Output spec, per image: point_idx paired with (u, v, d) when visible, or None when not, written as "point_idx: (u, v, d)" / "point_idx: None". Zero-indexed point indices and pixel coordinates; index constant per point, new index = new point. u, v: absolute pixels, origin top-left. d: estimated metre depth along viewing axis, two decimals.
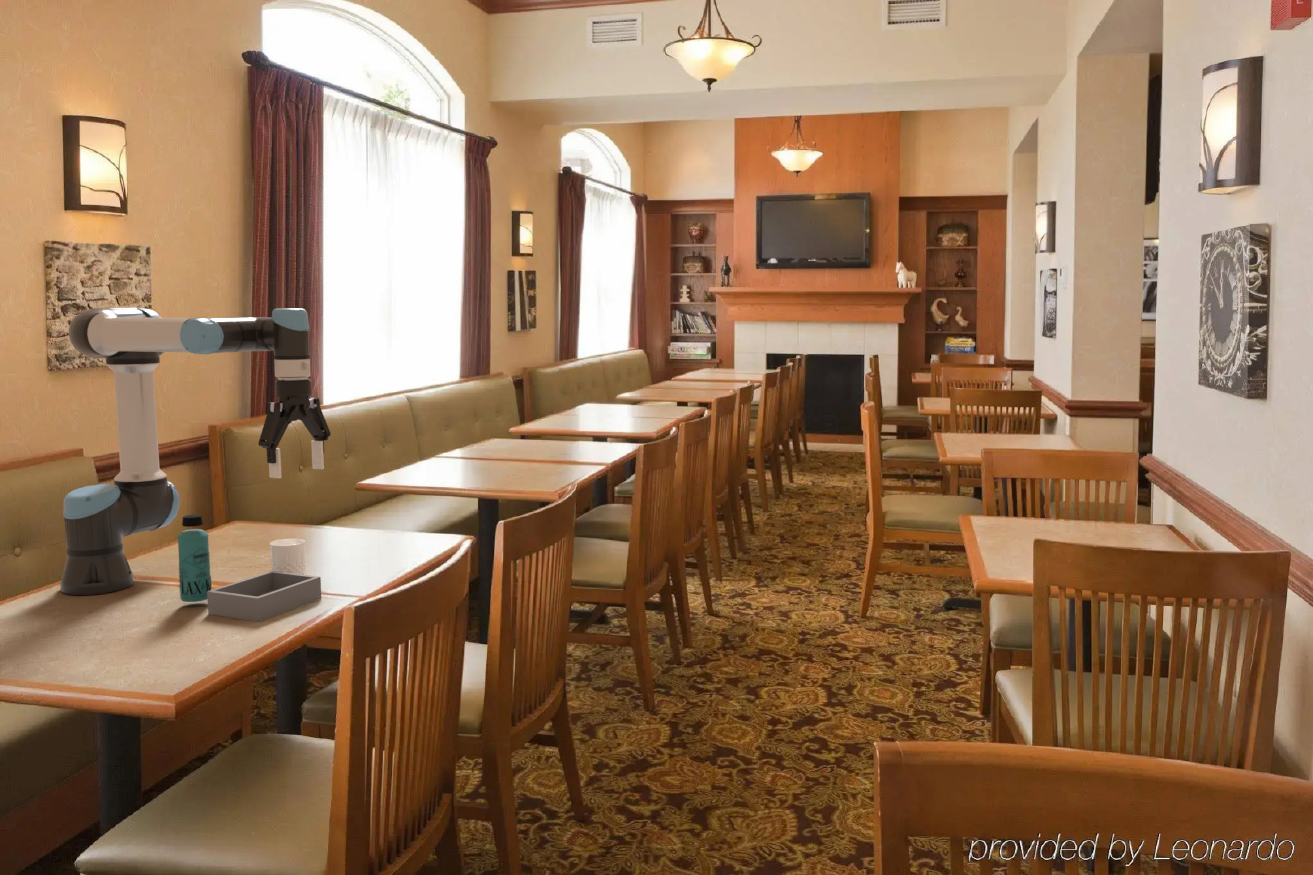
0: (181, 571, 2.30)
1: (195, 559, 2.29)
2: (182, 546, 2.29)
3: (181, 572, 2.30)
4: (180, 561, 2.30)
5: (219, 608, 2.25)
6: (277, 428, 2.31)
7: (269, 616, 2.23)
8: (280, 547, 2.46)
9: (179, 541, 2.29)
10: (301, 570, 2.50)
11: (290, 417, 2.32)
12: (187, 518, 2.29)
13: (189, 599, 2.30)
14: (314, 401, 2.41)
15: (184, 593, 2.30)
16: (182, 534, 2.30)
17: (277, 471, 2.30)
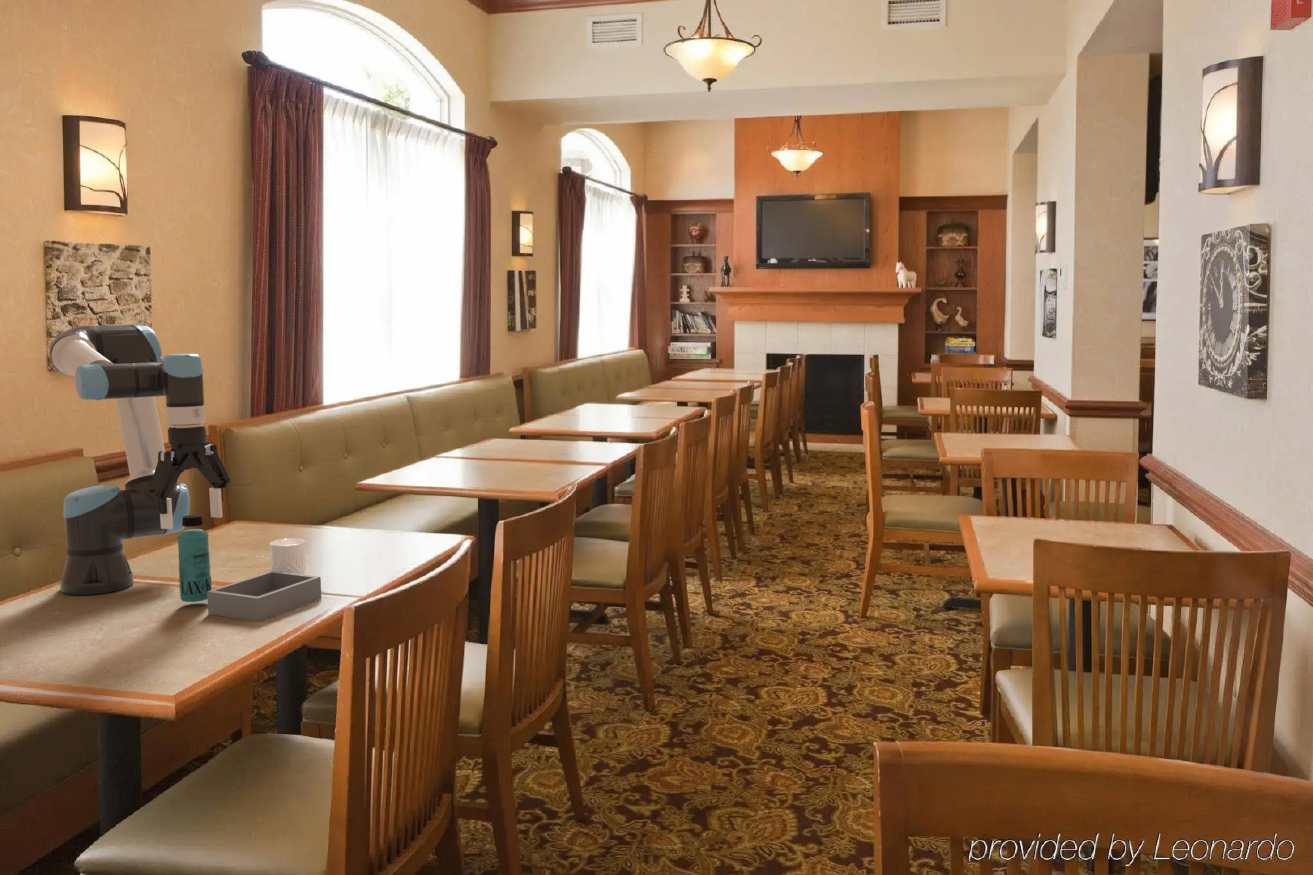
0: (181, 571, 2.30)
1: (195, 559, 2.29)
2: (182, 546, 2.29)
3: (181, 572, 2.30)
4: (180, 561, 2.30)
5: (219, 608, 2.25)
6: (168, 477, 2.25)
7: (269, 616, 2.23)
8: (280, 547, 2.46)
9: (179, 541, 2.29)
10: (301, 570, 2.50)
11: (182, 466, 2.26)
12: (187, 518, 2.29)
13: (189, 599, 2.30)
14: (211, 448, 2.34)
15: (184, 593, 2.30)
16: (182, 534, 2.30)
17: (168, 522, 2.24)
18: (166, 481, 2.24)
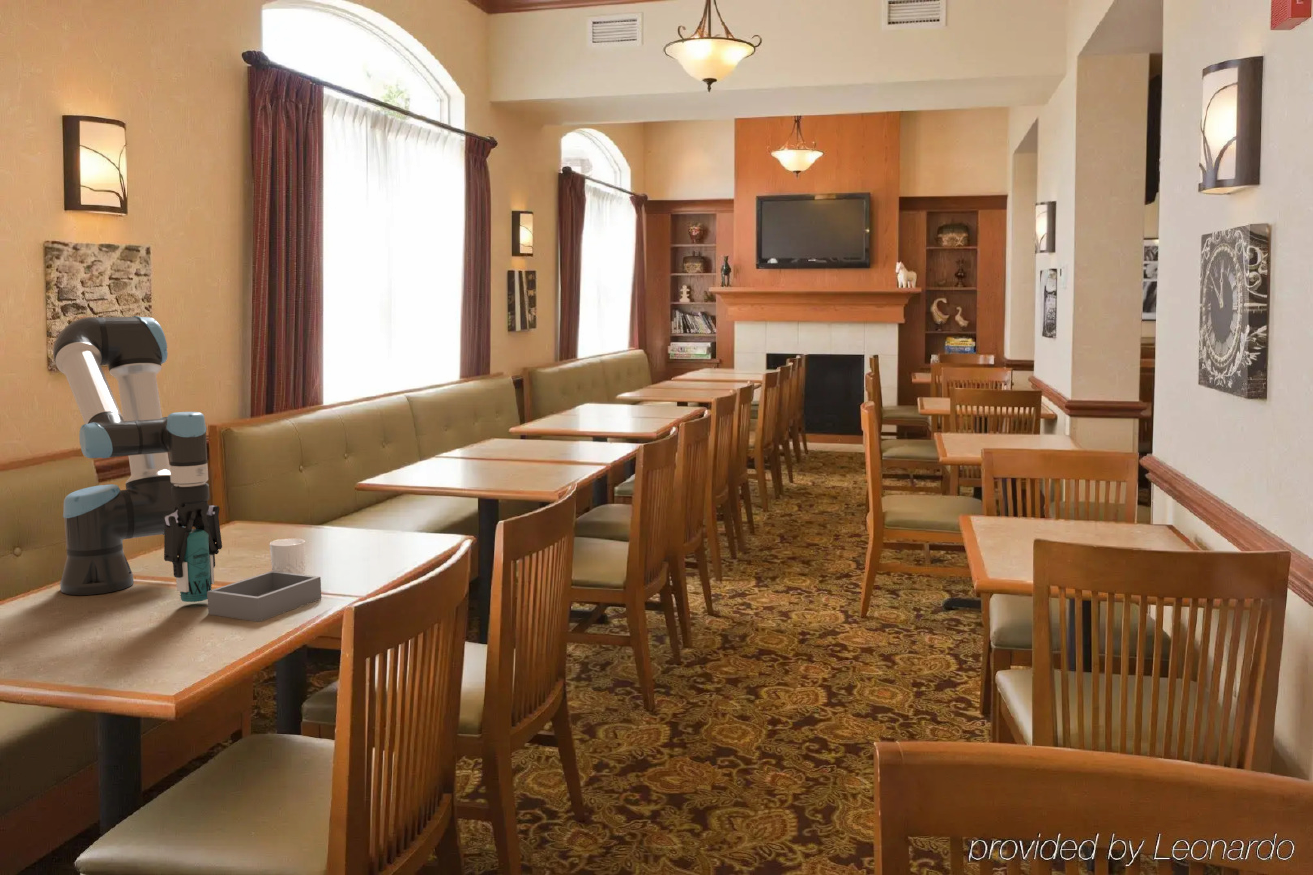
0: None
1: (195, 559, 2.29)
2: None
3: None
4: None
5: (219, 608, 2.25)
6: (179, 540, 2.28)
7: (269, 616, 2.23)
8: (280, 547, 2.46)
9: None
10: (301, 570, 2.50)
11: (189, 526, 2.28)
12: None
13: (189, 599, 2.30)
14: (213, 508, 2.36)
15: (184, 593, 2.30)
16: None
17: (184, 585, 2.29)
18: (178, 544, 2.28)
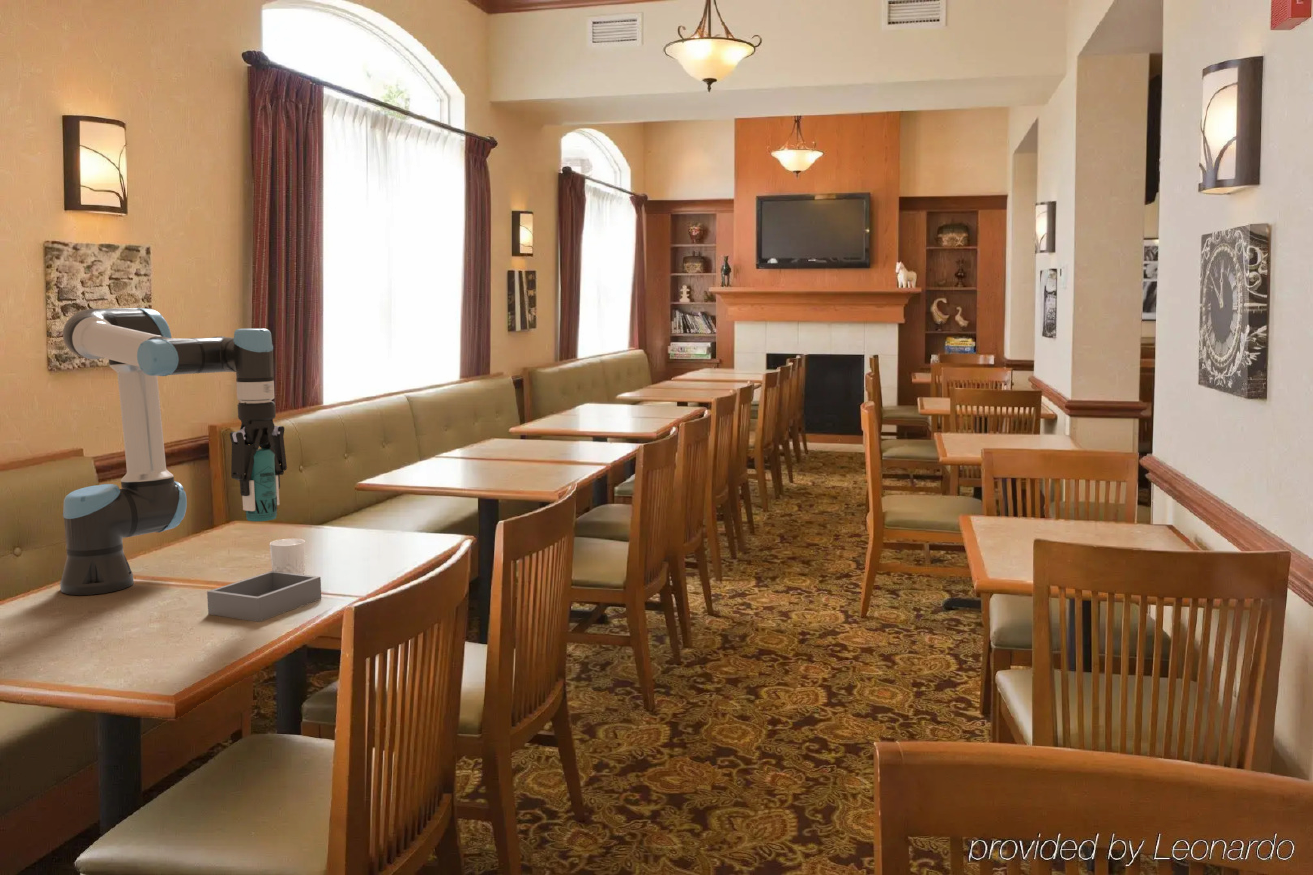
0: None
1: (262, 478, 2.26)
2: None
3: None
4: None
5: (219, 608, 2.25)
6: (246, 458, 2.25)
7: (269, 616, 2.23)
8: (280, 547, 2.46)
9: None
10: (301, 570, 2.50)
11: (256, 444, 2.25)
12: None
13: (255, 518, 2.26)
14: (279, 428, 2.32)
15: (250, 512, 2.27)
16: None
17: (251, 504, 2.25)
18: (244, 462, 2.24)
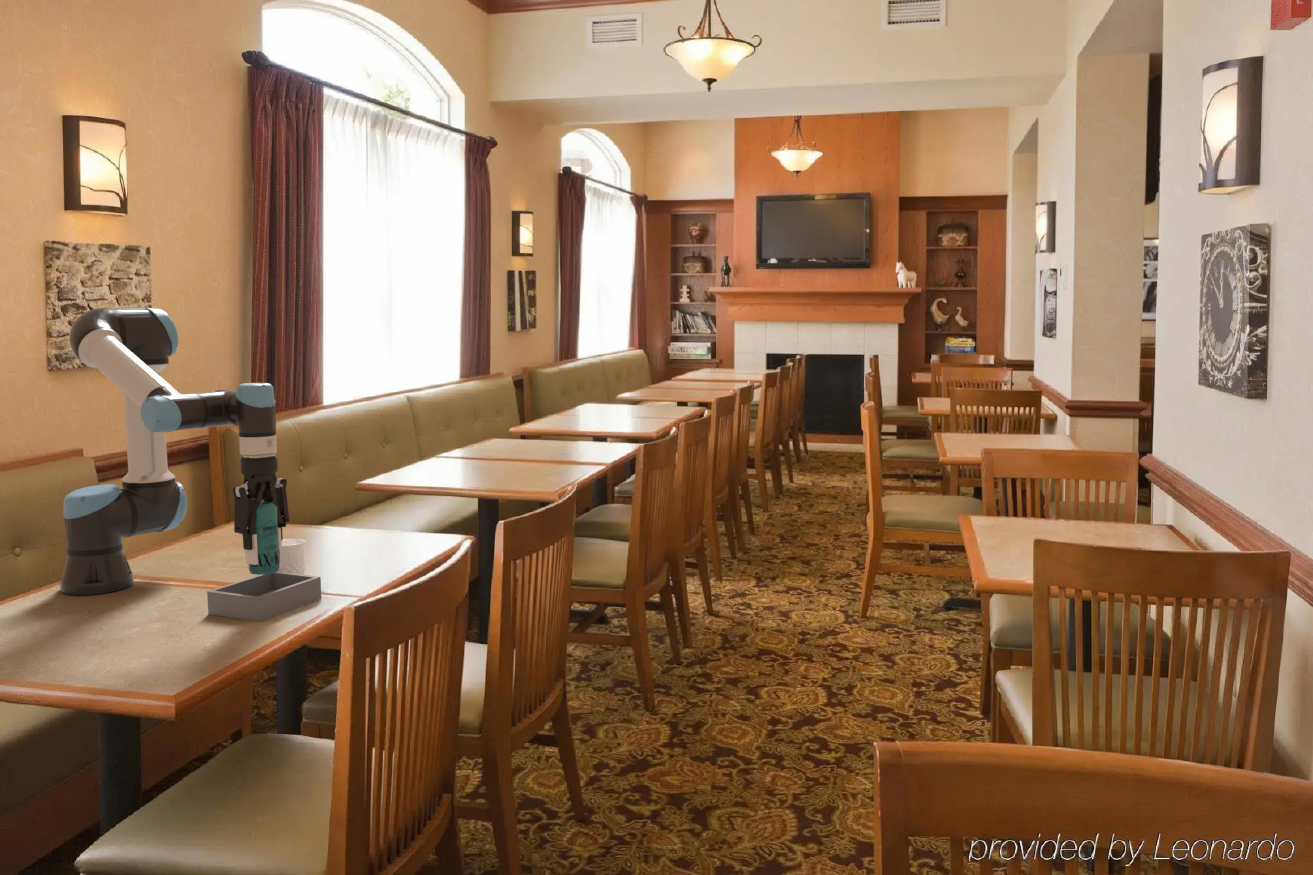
0: None
1: (265, 531, 2.27)
2: None
3: None
4: None
5: (219, 608, 2.25)
6: (248, 512, 2.26)
7: (269, 616, 2.23)
8: None
9: None
10: (301, 570, 2.50)
11: (258, 498, 2.26)
12: None
13: (258, 572, 2.28)
14: (281, 481, 2.34)
15: (253, 566, 2.28)
16: None
17: (254, 557, 2.27)
18: (247, 516, 2.26)
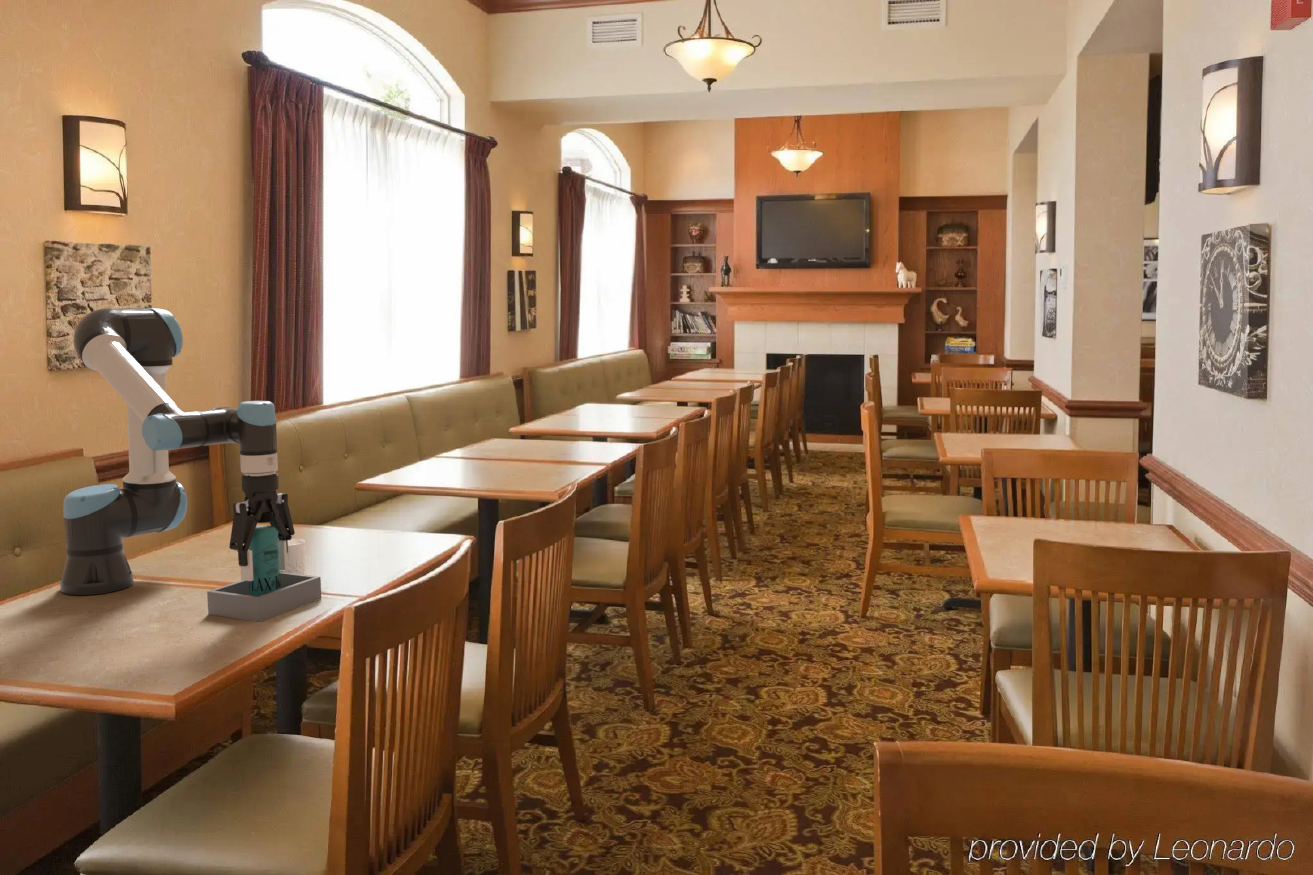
0: None
1: (266, 556, 2.28)
2: (253, 542, 2.28)
3: None
4: None
5: (219, 608, 2.25)
6: (246, 528, 2.26)
7: (269, 616, 2.23)
8: None
9: None
10: (301, 570, 2.50)
11: (258, 515, 2.26)
12: None
13: None
14: (282, 496, 2.34)
15: (254, 590, 2.29)
16: None
17: (249, 574, 2.26)
18: (244, 533, 2.25)
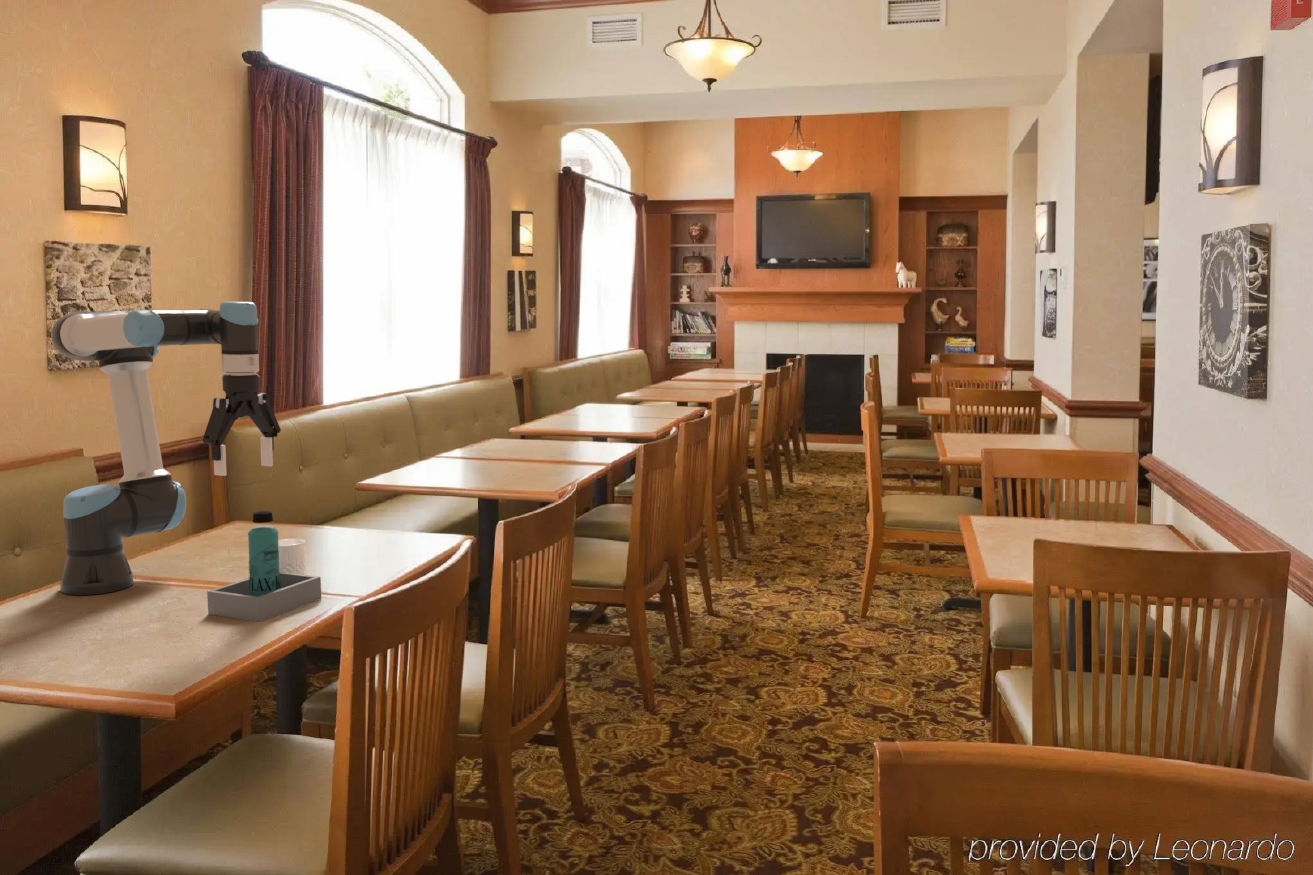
0: (251, 568, 2.29)
1: (266, 556, 2.28)
2: (253, 542, 2.28)
3: (251, 569, 2.29)
4: (250, 558, 2.28)
5: (219, 608, 2.25)
6: (223, 424, 2.26)
7: (269, 616, 2.23)
8: (280, 547, 2.46)
9: (250, 537, 2.28)
10: (301, 570, 2.50)
11: (236, 413, 2.27)
12: (258, 514, 2.28)
13: None
14: (263, 397, 2.35)
15: (254, 590, 2.29)
16: (253, 530, 2.28)
17: (222, 468, 2.25)
18: (220, 428, 2.25)
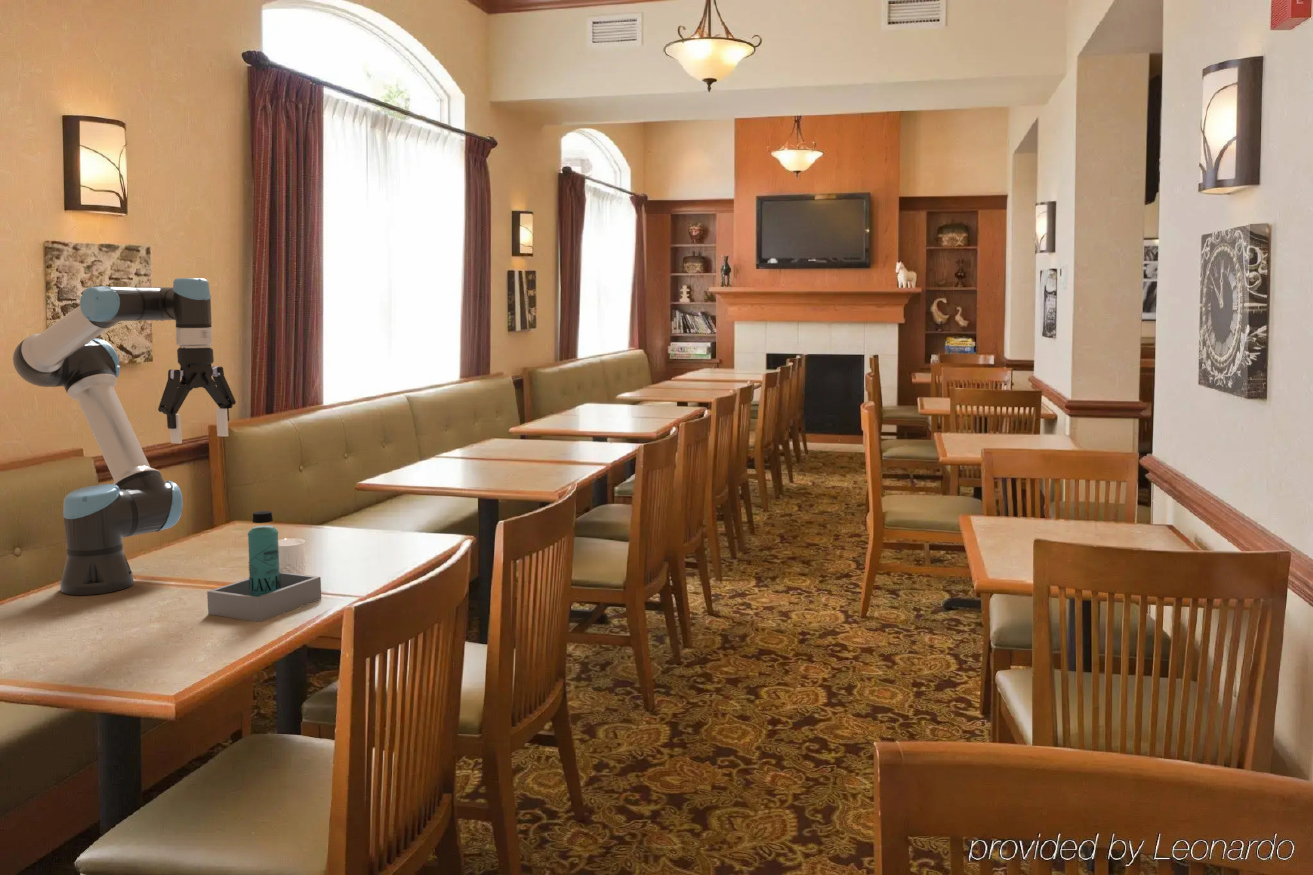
0: (251, 568, 2.29)
1: (265, 556, 2.28)
2: (253, 542, 2.28)
3: (251, 569, 2.29)
4: (250, 558, 2.28)
5: (219, 608, 2.25)
6: (178, 395, 2.37)
7: (269, 616, 2.23)
8: (280, 547, 2.46)
9: (249, 537, 2.28)
10: (301, 570, 2.50)
11: (191, 384, 2.38)
12: (258, 514, 2.28)
13: None
14: (218, 369, 2.47)
15: (254, 590, 2.29)
16: (252, 530, 2.28)
17: (177, 436, 2.37)
18: (175, 398, 2.37)
